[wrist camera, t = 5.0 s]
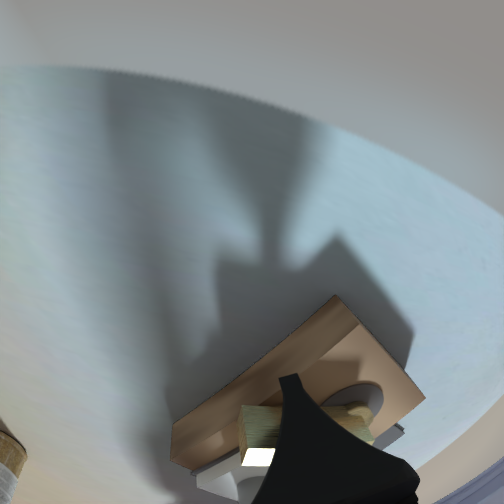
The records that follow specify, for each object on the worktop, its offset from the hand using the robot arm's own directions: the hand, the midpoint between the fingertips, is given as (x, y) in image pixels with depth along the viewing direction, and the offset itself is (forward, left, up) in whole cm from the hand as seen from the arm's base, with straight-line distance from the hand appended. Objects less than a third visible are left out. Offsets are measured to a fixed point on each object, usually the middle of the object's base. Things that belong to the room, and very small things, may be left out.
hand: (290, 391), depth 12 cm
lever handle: (-1, -3, -1) cm, 3 cm away
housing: (-3, -5, -4) cm, 7 cm away
